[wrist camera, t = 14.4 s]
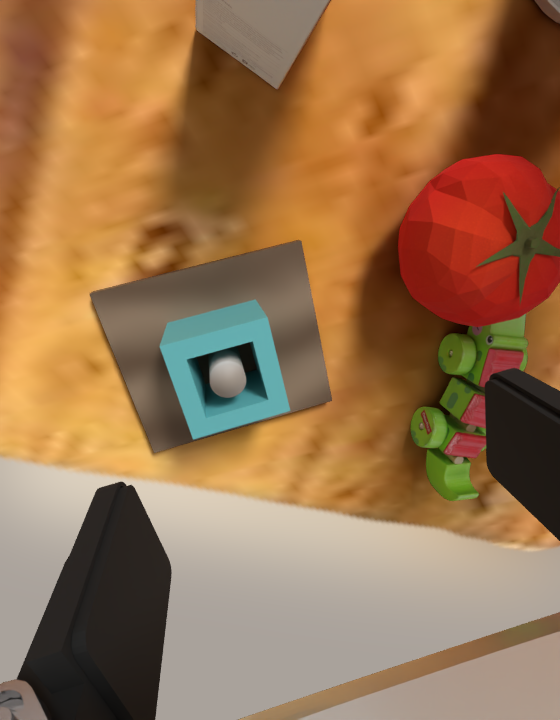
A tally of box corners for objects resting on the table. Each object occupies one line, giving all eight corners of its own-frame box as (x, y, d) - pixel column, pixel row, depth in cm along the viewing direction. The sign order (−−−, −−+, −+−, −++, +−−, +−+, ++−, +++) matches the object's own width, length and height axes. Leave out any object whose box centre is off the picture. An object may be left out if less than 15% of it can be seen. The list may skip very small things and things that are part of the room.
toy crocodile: (461, 276, 35) (512, 287, 29) (522, 291, 36) (581, 305, 31) (392, 467, 40) (423, 507, 35) (447, 473, 42) (486, 512, 36)
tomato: (511, 280, 36) (624, 302, 26) (396, 330, 35) (468, 372, 26) (490, 138, 31) (618, 103, 22) (358, 194, 31) (429, 183, 21)
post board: (92, 291, 29) (62, 312, 23) (298, 240, 31) (323, 245, 24) (155, 446, 34) (144, 499, 28) (328, 395, 36) (356, 434, 30)
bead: (167, 322, 30) (159, 346, 25) (255, 299, 31) (267, 317, 25) (194, 402, 33) (193, 439, 27) (275, 378, 33) (290, 410, 28)
